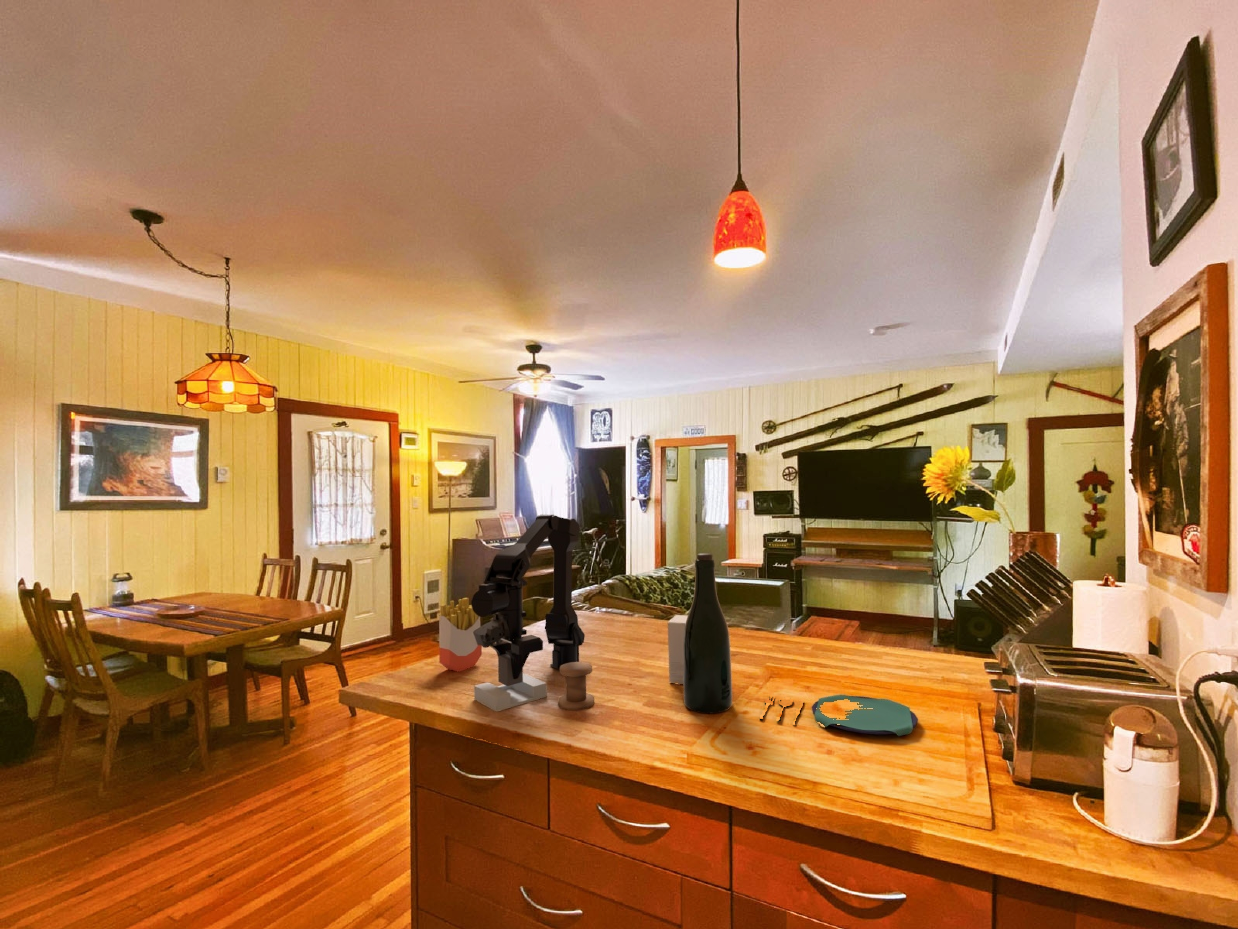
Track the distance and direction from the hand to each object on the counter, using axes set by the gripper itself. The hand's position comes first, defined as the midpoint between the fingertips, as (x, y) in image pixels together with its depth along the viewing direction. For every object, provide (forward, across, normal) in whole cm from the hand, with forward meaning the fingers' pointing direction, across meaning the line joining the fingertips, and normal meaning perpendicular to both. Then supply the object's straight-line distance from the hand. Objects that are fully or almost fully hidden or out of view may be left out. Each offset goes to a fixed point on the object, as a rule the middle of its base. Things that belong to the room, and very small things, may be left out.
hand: (510, 676), depth 133 cm
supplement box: (+5, +20, +39) cm, 44 cm away
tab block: (+1, 0, 0) cm, 1 cm away
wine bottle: (+5, +34, +29) cm, 45 cm away
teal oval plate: (+6, +56, +44) cm, 71 cm away
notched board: (+5, 0, 0) cm, 5 cm away
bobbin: (+5, +13, +9) cm, 16 cm away
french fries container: (+5, -29, +2) cm, 30 cm away
